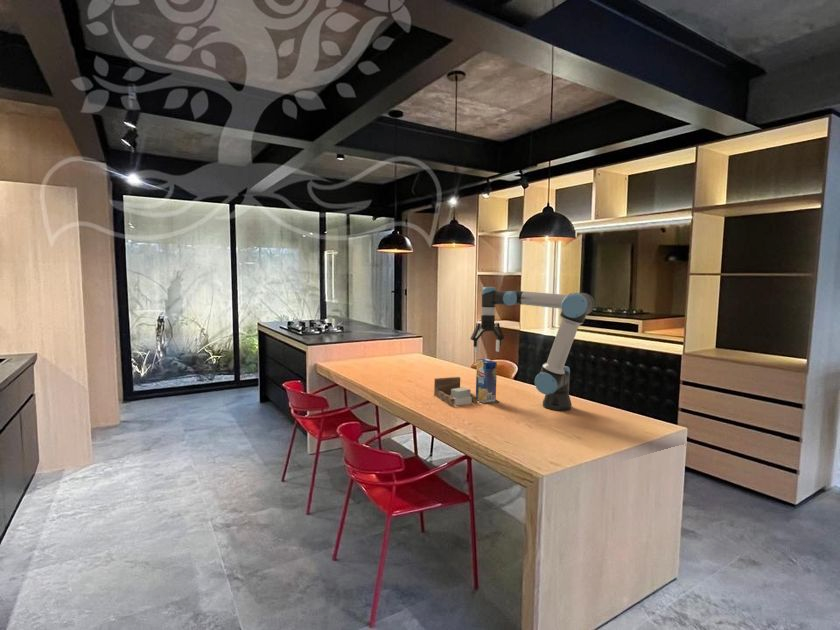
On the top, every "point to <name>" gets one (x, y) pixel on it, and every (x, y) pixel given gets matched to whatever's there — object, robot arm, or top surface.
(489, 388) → the beverage box
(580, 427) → the top surface
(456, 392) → the offcut top
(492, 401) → the mat
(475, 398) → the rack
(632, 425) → the top surface
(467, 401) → the offcut low
